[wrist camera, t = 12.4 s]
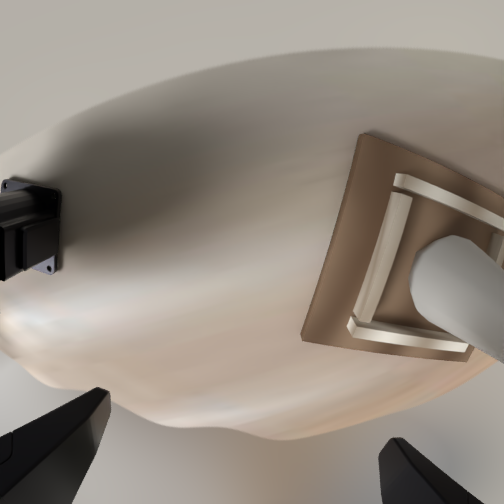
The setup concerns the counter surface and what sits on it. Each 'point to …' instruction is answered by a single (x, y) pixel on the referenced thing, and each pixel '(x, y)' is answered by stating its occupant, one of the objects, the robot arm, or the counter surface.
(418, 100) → the counter surface
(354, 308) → the collar board
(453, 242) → the salt shaker
